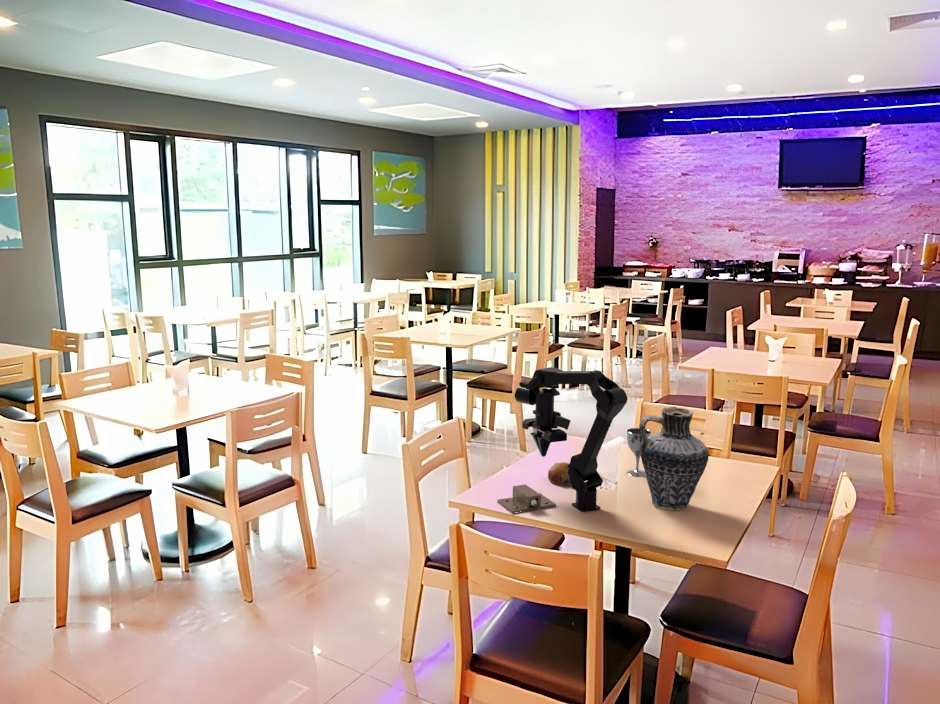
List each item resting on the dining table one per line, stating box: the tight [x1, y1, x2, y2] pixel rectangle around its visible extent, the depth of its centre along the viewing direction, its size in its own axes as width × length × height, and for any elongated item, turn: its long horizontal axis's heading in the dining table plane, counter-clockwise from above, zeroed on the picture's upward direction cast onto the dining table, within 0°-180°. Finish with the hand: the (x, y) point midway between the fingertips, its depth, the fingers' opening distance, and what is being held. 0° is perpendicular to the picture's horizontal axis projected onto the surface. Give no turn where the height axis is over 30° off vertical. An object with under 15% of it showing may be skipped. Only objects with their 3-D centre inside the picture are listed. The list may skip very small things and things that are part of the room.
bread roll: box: [547, 461, 571, 486], centre depth 252 cm, size 10×10×8 cm
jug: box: [639, 406, 710, 511], centre depth 227 cm, size 21×19×30 cm
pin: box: [530, 499, 538, 507], centre depth 230 cm, size 12×3×3 cm, turn 24°
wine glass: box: [626, 427, 652, 478], centre depth 258 cm, size 8×8×15 cm
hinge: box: [496, 484, 557, 514], centre depth 230 cm, size 10×15×4 cm
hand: (543, 456), depth 238 cm, fingers closed
